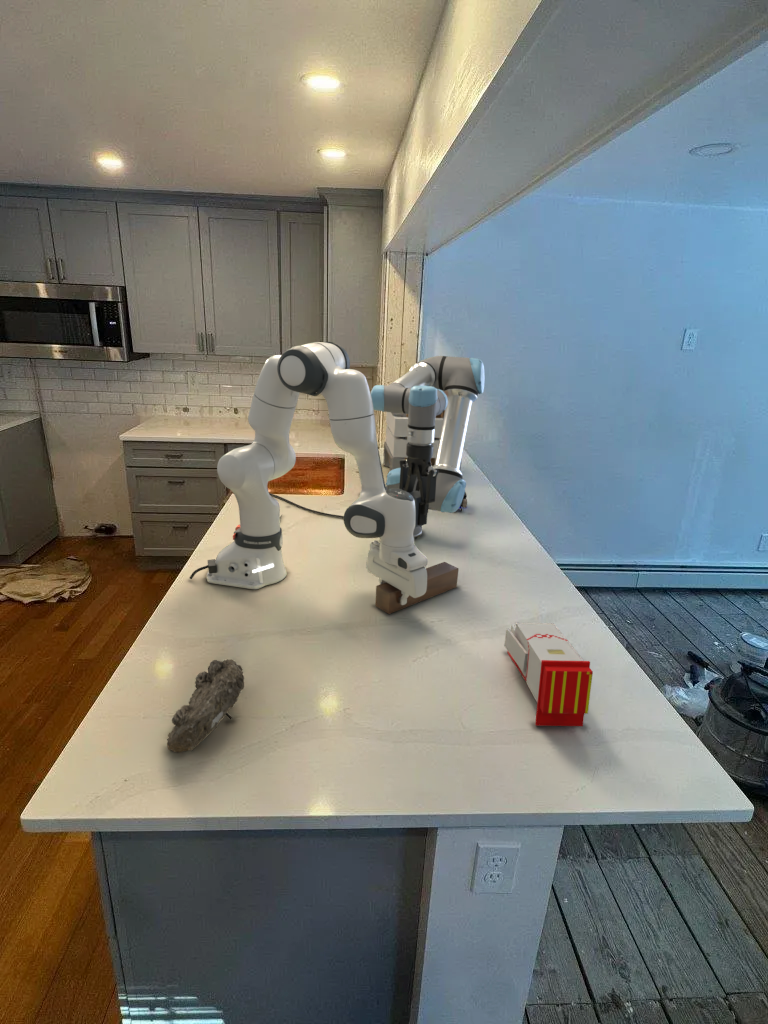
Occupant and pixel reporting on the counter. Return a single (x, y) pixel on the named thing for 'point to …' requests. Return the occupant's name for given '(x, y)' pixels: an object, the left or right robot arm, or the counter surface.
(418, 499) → the grey block
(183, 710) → the fossil
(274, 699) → the counter surface
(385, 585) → the walnut rail
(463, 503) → the figurine character
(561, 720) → the toy
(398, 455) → the white wooden box
